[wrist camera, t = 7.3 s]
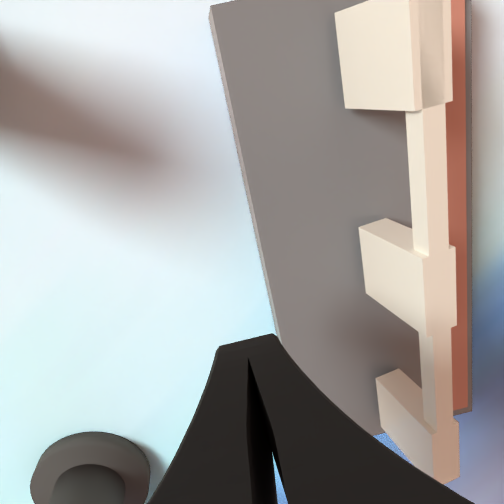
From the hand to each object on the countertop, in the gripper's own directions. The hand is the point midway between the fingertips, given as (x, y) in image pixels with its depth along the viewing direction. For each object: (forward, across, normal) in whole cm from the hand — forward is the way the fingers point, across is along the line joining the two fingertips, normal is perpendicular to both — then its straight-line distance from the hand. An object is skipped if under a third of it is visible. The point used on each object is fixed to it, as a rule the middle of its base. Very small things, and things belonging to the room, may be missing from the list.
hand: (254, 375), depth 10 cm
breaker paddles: (+5, -4, 0) cm, 7 cm away
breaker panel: (+7, -4, 0) cm, 8 cm away
